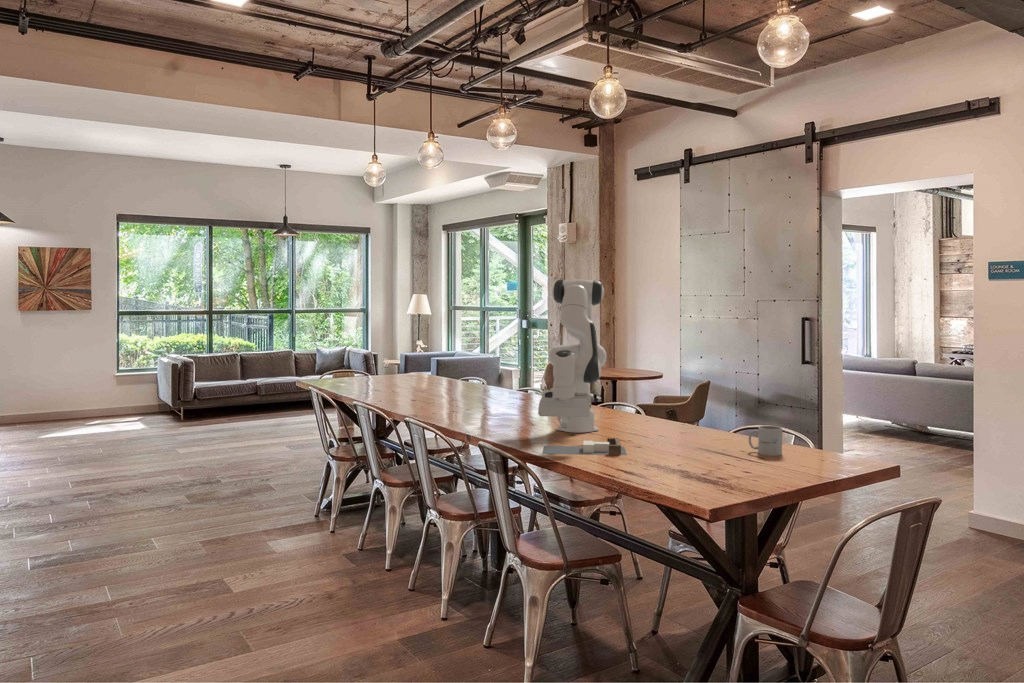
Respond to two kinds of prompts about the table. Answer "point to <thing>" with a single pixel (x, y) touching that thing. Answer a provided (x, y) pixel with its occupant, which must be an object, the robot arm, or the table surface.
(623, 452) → the mat
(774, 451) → the mug
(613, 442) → the dock
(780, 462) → the table surface
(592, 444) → the tee
